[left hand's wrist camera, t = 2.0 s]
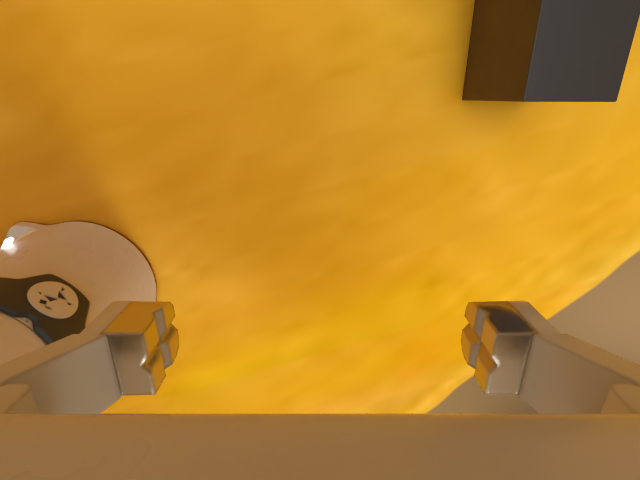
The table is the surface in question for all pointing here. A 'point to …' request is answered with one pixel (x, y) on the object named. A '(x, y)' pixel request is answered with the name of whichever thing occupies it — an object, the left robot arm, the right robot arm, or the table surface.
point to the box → (549, 50)
